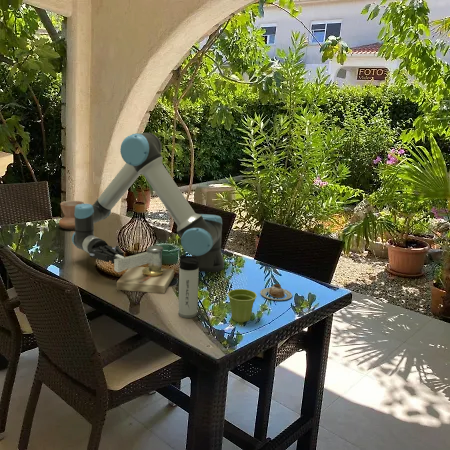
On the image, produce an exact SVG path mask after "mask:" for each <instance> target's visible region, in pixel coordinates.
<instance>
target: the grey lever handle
mask: <svg viewBox="0 0 450 450" xmlns="http://www.w3.org/2000/svg"><path fill="white" fill-rule="evenodd" d="M146 248H147V251H145V252H140V253H137V254H133V255H129V256H124V258H120V259H118V258H117V259H114V263H113V265H114V267H113V269H114V272H116V273H121V272H123V271H125V270H126V271H127V270H128V269H130V268H133V267H142V266H144V265H147V264H148V266H145V267H146V268H144V269H143V270H142V273H143V274H144V275H147V276H158V275H161V274H162V273H163V269H164V268H162V262H163V261H162V259H163V258H162V252H163V251H164V247H163V246H161V245H149V246H147V247H146Z"/></svg>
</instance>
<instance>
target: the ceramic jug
mask: <svg viewBox="0 0 450 450" xmlns="http://www.w3.org/2000/svg"><path fill="white" fill-rule="evenodd" d="M78 204H85V202H84V201H82V200H81V201H80V200H66V201H65V200H64V201H62V202H60V204H59V205H60V209H61V211H62V213H63V217H62V218H61V219H60V220H59V221H58V224H59V227H61V229H65V230H75V216H74V214H75V206H76V205H78Z"/></svg>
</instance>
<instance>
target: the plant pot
mask: <svg viewBox="0 0 450 450" xmlns="http://www.w3.org/2000/svg"><path fill="white" fill-rule="evenodd" d="M227 297H228V299H229V303H230V304H229V305H230V313H231V319H232V320H233V321H234V322H237V323H245V322H249V321H250V320H251V316H252V313H253V312H252V310H253V307H254V304H255V301H256V299H257V297H258V295H257V293H256V292H255V291H253V290H250V289H246V288H238V289H237V288H235V289H232V290H229V292H228V293H227Z"/></svg>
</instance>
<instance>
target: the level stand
mask: <svg viewBox="0 0 450 450" xmlns="http://www.w3.org/2000/svg"><path fill="white" fill-rule="evenodd" d="M146 267H147V266H145V267H144V266H137V267H133V268H130V269H126V271H125V272H124V273H123V274H122V275H121V276H120V278H119V279H118V280H117V281H116V290H117V291H128V292H129V291H130V292H139V293H151V294H152V293H153V294H165V292H167V291H166V290H168V288H169V286H170V285H171V282H172V280H173V278H174V277H175V269H174V268H173V269H172V268H162V269H163V273H162V274H161V275H158V276H147V275H144V274H143V273H142V270H143V269H144V268H146Z"/></svg>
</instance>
